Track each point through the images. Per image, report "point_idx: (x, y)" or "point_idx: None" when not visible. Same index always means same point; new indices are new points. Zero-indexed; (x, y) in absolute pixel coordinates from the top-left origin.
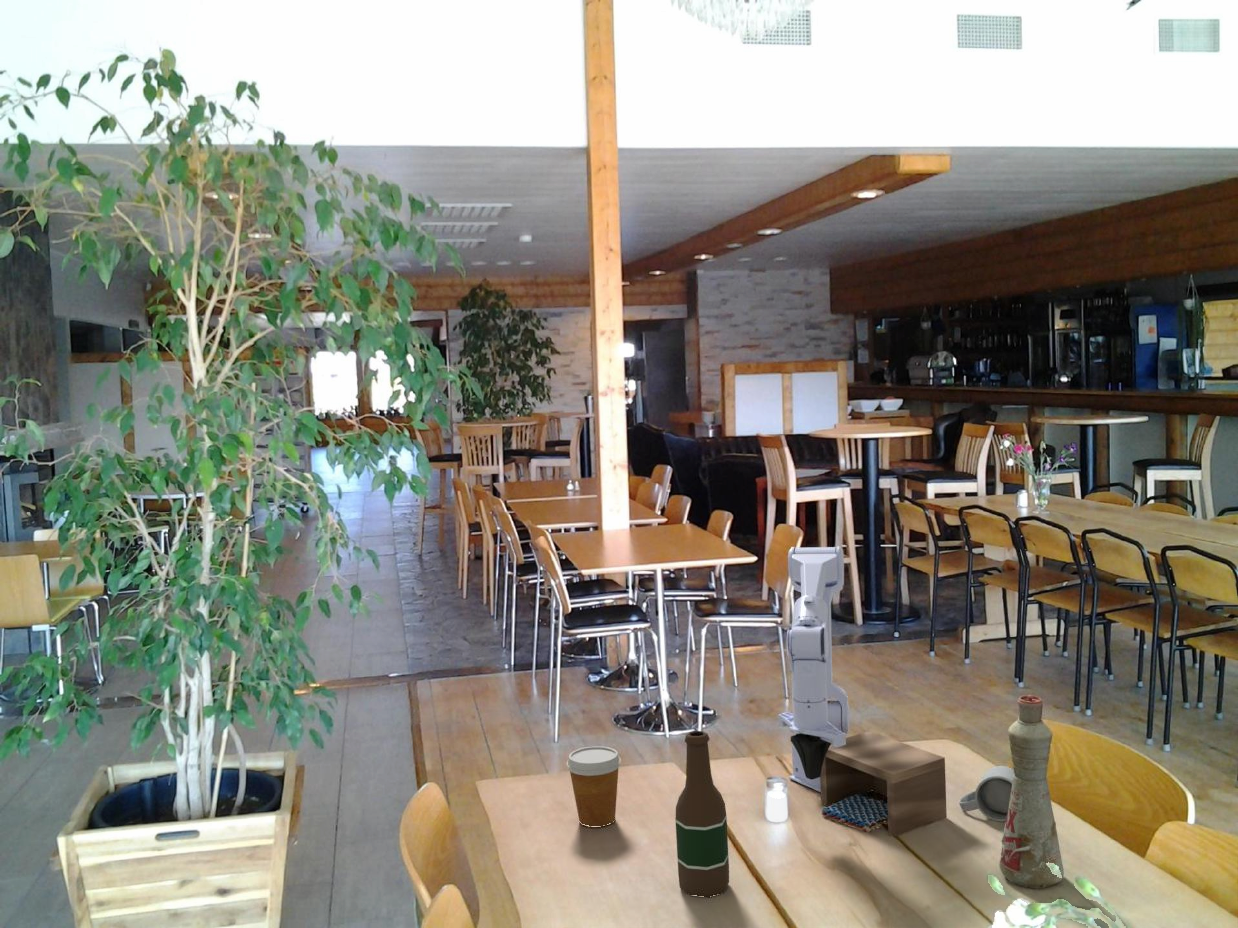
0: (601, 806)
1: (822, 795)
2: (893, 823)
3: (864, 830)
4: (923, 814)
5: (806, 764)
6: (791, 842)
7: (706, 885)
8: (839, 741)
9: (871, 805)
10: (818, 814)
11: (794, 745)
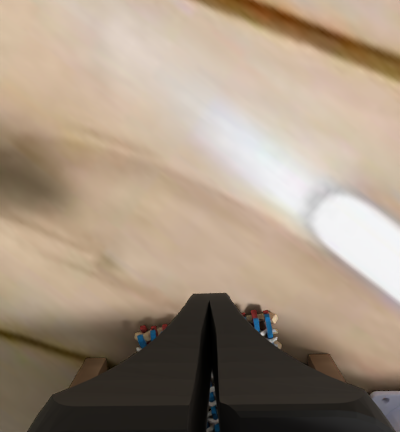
0: None
1: (332, 369)
2: (78, 378)
3: (140, 327)
4: None
5: (200, 320)
6: (195, 155)
7: None
8: None
9: (212, 413)
10: (284, 309)
11: (311, 373)
